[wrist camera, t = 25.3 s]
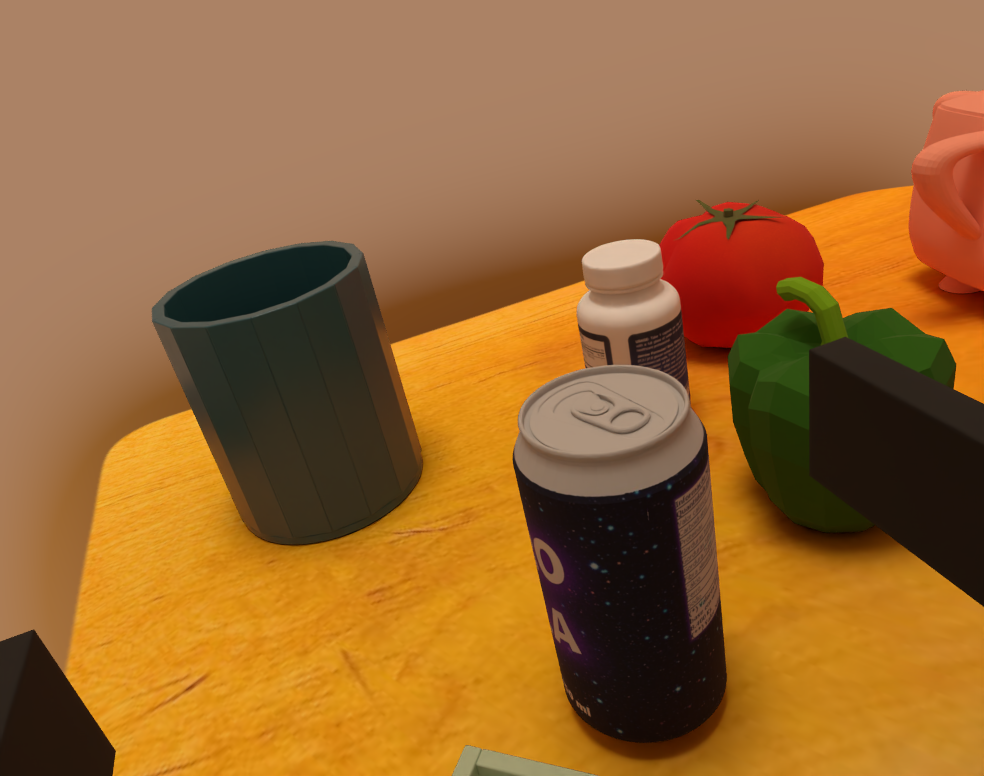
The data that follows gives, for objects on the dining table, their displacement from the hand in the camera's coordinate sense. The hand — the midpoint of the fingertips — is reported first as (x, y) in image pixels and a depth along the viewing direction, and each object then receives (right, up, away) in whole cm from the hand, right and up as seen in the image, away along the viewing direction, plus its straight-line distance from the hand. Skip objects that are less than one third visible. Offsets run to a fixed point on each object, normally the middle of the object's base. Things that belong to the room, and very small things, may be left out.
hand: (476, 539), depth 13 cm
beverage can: (+6, -8, +15) cm, 18 cm away
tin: (-9, -3, +31) cm, 32 cm away
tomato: (+16, +6, +37) cm, 41 cm away
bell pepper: (+16, -2, +22) cm, 27 cm away
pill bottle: (+9, +1, +31) cm, 32 cm away
